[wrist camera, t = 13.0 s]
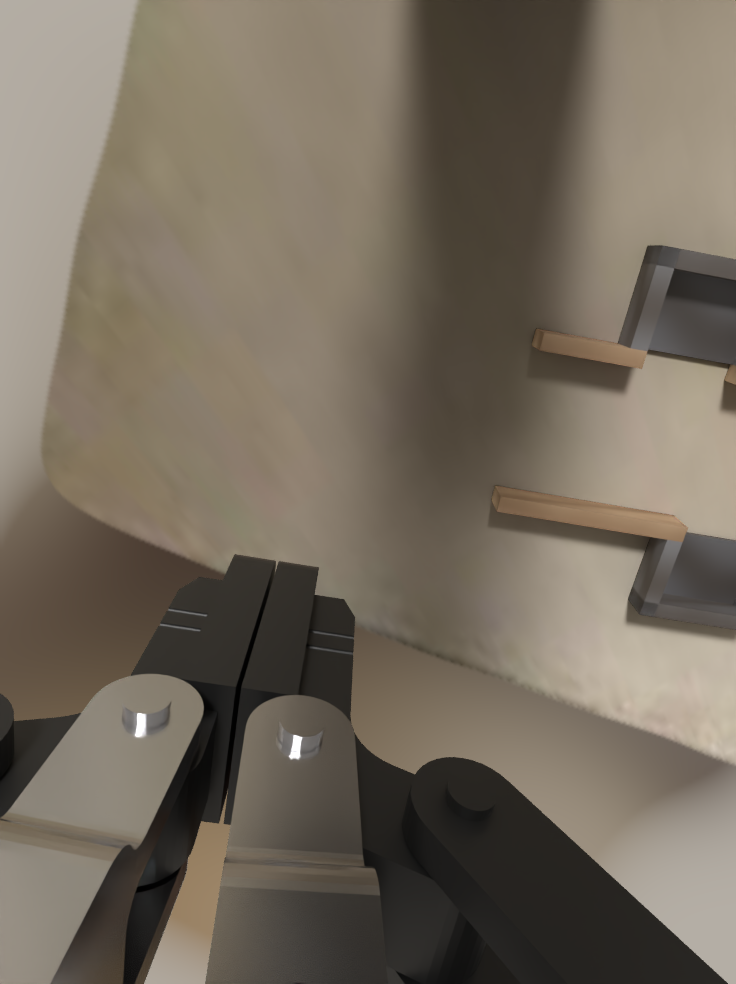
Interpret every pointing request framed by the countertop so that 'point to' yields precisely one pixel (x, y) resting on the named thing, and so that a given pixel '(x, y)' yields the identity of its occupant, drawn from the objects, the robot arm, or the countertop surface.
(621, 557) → the countertop surface
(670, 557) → the trap runway
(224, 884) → the robot arm
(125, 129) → the countertop surface
